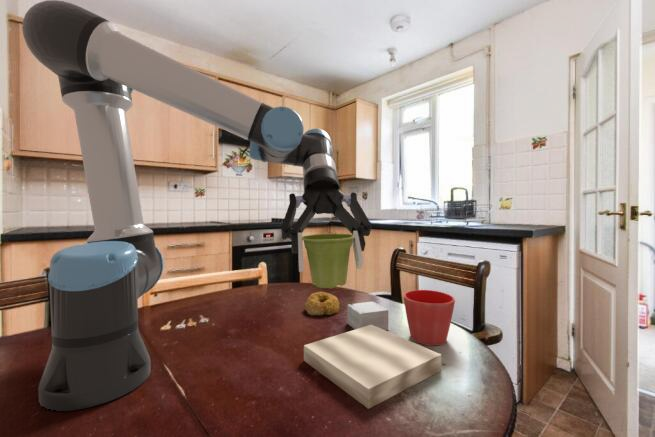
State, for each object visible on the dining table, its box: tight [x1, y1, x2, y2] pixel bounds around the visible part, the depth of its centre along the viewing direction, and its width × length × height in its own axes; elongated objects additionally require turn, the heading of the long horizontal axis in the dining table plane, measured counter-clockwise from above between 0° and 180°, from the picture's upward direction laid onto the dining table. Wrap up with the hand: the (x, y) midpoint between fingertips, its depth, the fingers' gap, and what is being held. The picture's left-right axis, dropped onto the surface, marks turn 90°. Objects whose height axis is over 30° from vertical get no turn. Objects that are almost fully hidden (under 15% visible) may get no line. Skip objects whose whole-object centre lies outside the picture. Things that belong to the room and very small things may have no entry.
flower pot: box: [403, 289, 456, 346], centre depth 70 cm, size 11×11×10 cm
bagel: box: [304, 291, 340, 317], centre depth 90 cm, size 10×11×5 cm
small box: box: [347, 301, 389, 331], centre depth 78 cm, size 8×8×5 cm
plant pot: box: [302, 233, 354, 289], centre depth 56 cm, size 9×9×9 cm
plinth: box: [303, 325, 442, 409], centre depth 58 cm, size 18×18×3 cm
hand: (330, 266), depth 53 cm, fingers closed on plant pot, 9 cm apart
